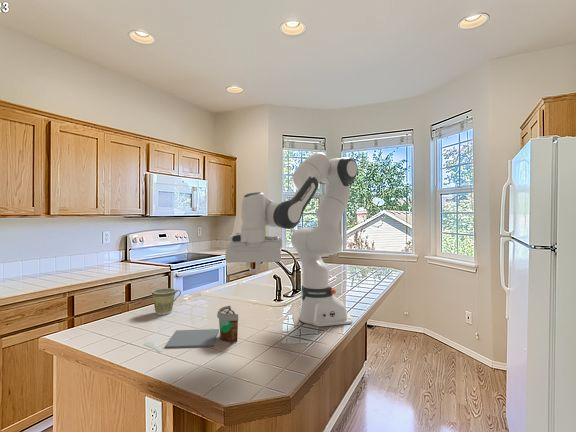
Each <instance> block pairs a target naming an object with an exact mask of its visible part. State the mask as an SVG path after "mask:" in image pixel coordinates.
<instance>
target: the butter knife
mask: <svg viewBox="0 0 576 432" xmlns="http://www.w3.org/2000/svg"><path fill="white" fill-rule="evenodd" d="M143 346H144V347H145V346H146V347H147V348H151V349H152V350H155V351H156V352H158V353H162V352H164V350H162V349H160V348H159V347H157V346H156V345H155V344H154V343H153V342H151V341H147V342H144V343H143Z"/></svg>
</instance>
